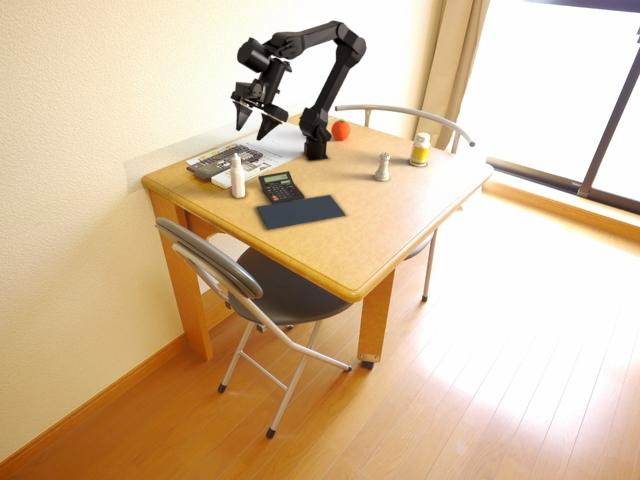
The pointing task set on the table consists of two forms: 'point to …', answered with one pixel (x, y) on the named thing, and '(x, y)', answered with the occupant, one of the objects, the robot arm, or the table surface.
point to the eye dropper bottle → (237, 177)
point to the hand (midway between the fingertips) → (247, 135)
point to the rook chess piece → (383, 168)
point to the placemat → (299, 211)
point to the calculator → (280, 187)
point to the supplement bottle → (420, 149)
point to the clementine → (340, 130)
